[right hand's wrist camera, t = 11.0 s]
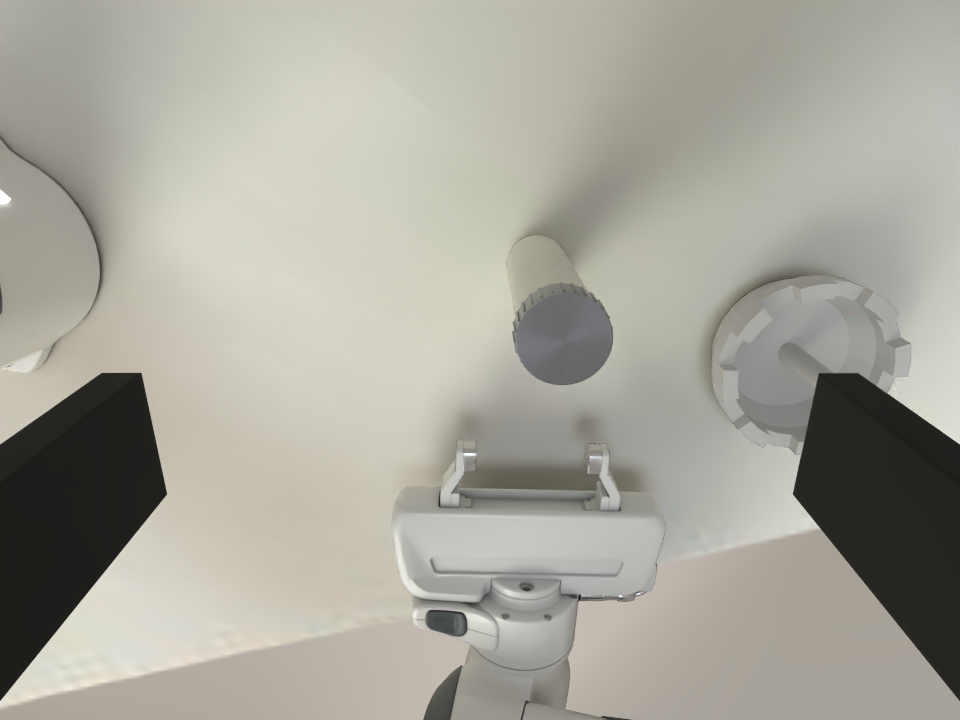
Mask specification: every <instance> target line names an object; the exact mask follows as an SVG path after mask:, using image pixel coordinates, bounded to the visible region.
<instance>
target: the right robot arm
mask: <svg viewBox="0 0 960 720" xmlns="http://www.w3.org/2000/svg"><path fill="white" fill-rule="evenodd" d="M166 495H167V492H166V487H165V482H164V477H163V473H162V468H161V463H160V459H159V454H158V449H157V444H156V440H155V435H154V430H153V426H152V421H151V416H150V411H149V407H148V402H147V397H146V393H145V388H144V383H143V378H142V374H141V373H101V374H100V375H98V376H97V377H96V378H94V379H93V380H91V381H90V382H88V383H87V384H86V385H84V386H83V387H81V388H80V389H78V390H77V391H76V392H74V393H73V394H71V395H70V396H69V397H67V398H66V399H64V400H63V401H61V402H60V403H59V404H57V405H56V406H54V407H53V408H52V409H50V410H49V411H47V412H46V413H44V414H43V415H42V416H40V417H39V418H37V419H36V420H34V421H33V422H32V423H30V424H29V425H27V426H26V427H25V428H23V429H22V430H20V431H19V432H17V433H16V434H15V435H13V436H12V437H10V438H9V439H8V440H6V441H5V442H3V443H2V444H0V701H1V699H2V698H3V697H4V696H5V694H6V693H7V692H8V691H9V689H10V688H11V687H12V686H13V684H14V683H15V682H16V681H17V680H18V678H19V677H20V676H21V675H22V673H23V672H24V671H25V670H26V668H27V667H28V666H29V665H30V663H31V662H32V661H33V660H34V658H35V657H36V656H37V655H38V654H39V652H40V651H41V650H42V649H43V647H44V646H45V645H46V644H47V642H48V641H49V640H50V639H51V637H52V636H53V635H54V634H55V632H56V631H57V630H58V629H59V627H60V626H61V625H62V624H63V623H64V621H65V620H66V619H67V618H68V616H69V615H70V614H71V613H72V611H73V610H74V609H75V608H76V606H77V605H78V604H79V603H80V601H81V600H82V599H83V598H84V597H85V595H86V594H87V593H88V592H89V590H90V589H91V588H92V587H93V585H94V584H95V583H96V582H97V580H98V579H99V578H100V577H101V575H102V574H103V573H104V572H105V571H106V569H107V568H108V567H109V566H110V564H111V563H112V562H113V561H114V559H115V558H116V557H117V556H118V554H119V553H120V552H121V551H122V549H123V548H124V547H125V546H126V545H127V543H128V542H129V541H130V540H131V538H132V537H133V536H134V535H135V533H136V532H137V531H138V530H139V528H140V527H141V526H142V525H143V523H144V522H145V521H146V520H147V518H148V517H149V516H150V515H151V514H152V512H153V511H154V510H155V509H156V507H157V506H158V505H159V504H160V502H161V501H162V500H163V499H164V497H165V496H166ZM793 495H794V496H795V497H796V499H797V500H798V501H799V502H800V504H801V505H802V506H803V507H804V509H805V510H806V511H807V512H808V514H809V515H810V516H811V517H812V518H813V520H814V521H815V522H816V523H817V525H818V526H819V527H820V528H821V530H822V531H823V532H824V533H825V535H826V536H827V537H828V538H829V540H830V541H831V542H832V543H833V544H834V546H835V547H836V548H837V549H838V551H839V552H840V553H841V554H842V556H843V557H844V558H845V559H846V561H847V562H848V563H849V564H850V566H851V567H852V568H853V569H854V570H855V572H856V573H857V574H858V575H859V577H860V578H861V579H862V580H863V582H864V583H865V584H866V585H867V587H868V588H869V589H870V590H871V591H872V593H873V594H874V595H875V596H876V598H877V599H878V600H879V601H880V603H881V604H882V605H883V606H884V608H885V609H886V610H887V611H888V613H889V614H890V615H891V616H892V618H893V619H894V620H895V621H896V623H897V624H898V625H899V626H900V627H901V629H902V630H903V631H904V632H905V634H906V635H907V636H908V637H909V639H910V640H911V641H912V642H913V643H914V645H915V646H916V647H917V649H918V650H919V651H920V652H921V654H922V655H923V656H924V657H925V658H926V660H927V661H928V662H929V663H930V665H931V666H932V667H933V668H934V669H935V671H936V672H937V673H938V675H939V676H940V677H941V678H942V680H943V681H944V682H945V683H946V684H947V686H948V687H949V688H950V689H951V691H952V692H953V693H954V694H955V696H956V697H957V698H958V699H959V701H960V444H958V443H957V442H955V441H954V440H952V439H951V438H950V437H948V436H947V435H945V434H944V433H943V432H941V431H940V430H938V429H937V428H935V427H934V426H933V425H931V424H930V423H928V422H927V421H926V420H924V419H923V418H921V417H920V416H918V415H917V414H916V413H914V412H913V411H911V410H910V409H908V408H907V407H906V406H904V405H903V404H901V403H900V402H899V401H897V400H896V399H894V398H893V397H891V396H890V395H889V394H887V393H886V392H884V391H883V390H882V389H880V388H879V387H877V386H876V385H874V384H873V383H872V382H870V381H869V380H867V379H866V378H864V377H863V376H862V375H860V374H859V373H819V374H818V378H817V383H816V388H815V393H814V397H813V402H812V407H811V411H810V416H809V421H808V426H807V430H806V435H805V440H804V444H803V449H802V454H801V459H800V463H799V468H798V473H797V477H796V482H795V487H794V492H793Z"/></svg>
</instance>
